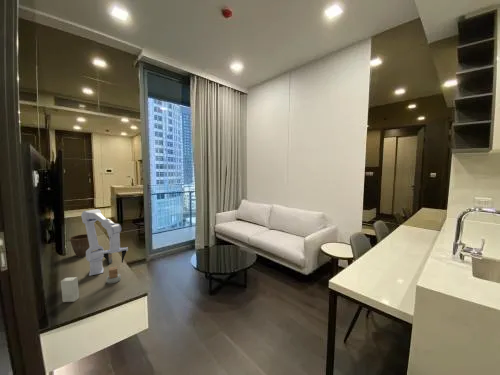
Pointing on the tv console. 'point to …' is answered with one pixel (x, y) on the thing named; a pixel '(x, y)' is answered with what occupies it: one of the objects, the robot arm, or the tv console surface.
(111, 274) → the walnut block
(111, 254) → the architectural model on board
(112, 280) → the pale grey round disc
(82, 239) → the plant pot
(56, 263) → the tv console surface
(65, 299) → the skincare box
